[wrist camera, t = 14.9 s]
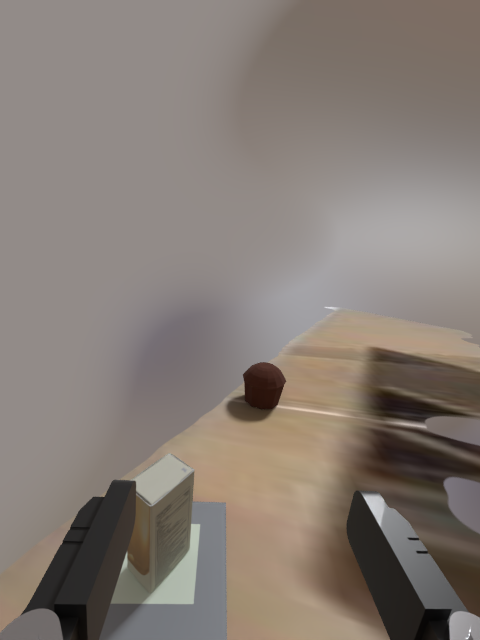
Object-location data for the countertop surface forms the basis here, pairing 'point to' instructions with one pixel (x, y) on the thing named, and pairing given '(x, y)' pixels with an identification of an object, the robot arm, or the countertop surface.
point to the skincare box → (161, 520)
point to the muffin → (263, 385)
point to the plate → (178, 590)
